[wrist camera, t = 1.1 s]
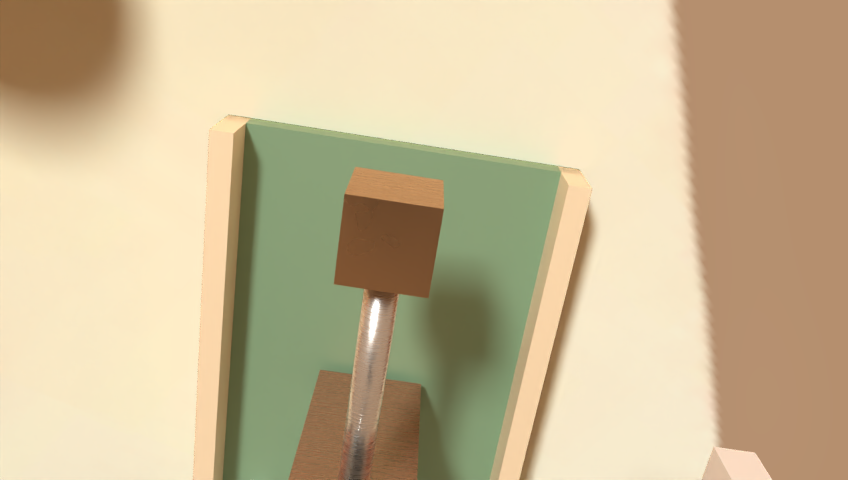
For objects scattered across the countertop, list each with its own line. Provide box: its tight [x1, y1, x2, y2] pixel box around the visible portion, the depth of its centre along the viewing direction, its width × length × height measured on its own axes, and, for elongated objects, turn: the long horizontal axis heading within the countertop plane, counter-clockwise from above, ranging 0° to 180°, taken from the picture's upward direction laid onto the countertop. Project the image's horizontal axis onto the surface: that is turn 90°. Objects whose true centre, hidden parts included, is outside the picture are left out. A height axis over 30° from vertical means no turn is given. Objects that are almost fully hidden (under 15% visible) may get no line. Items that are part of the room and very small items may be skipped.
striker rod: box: [288, 167, 444, 480], centre depth 29 cm, size 14×5×10 cm, turn 171°
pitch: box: [193, 115, 592, 480], centre depth 35 cm, size 25×16×5 cm, turn 171°
